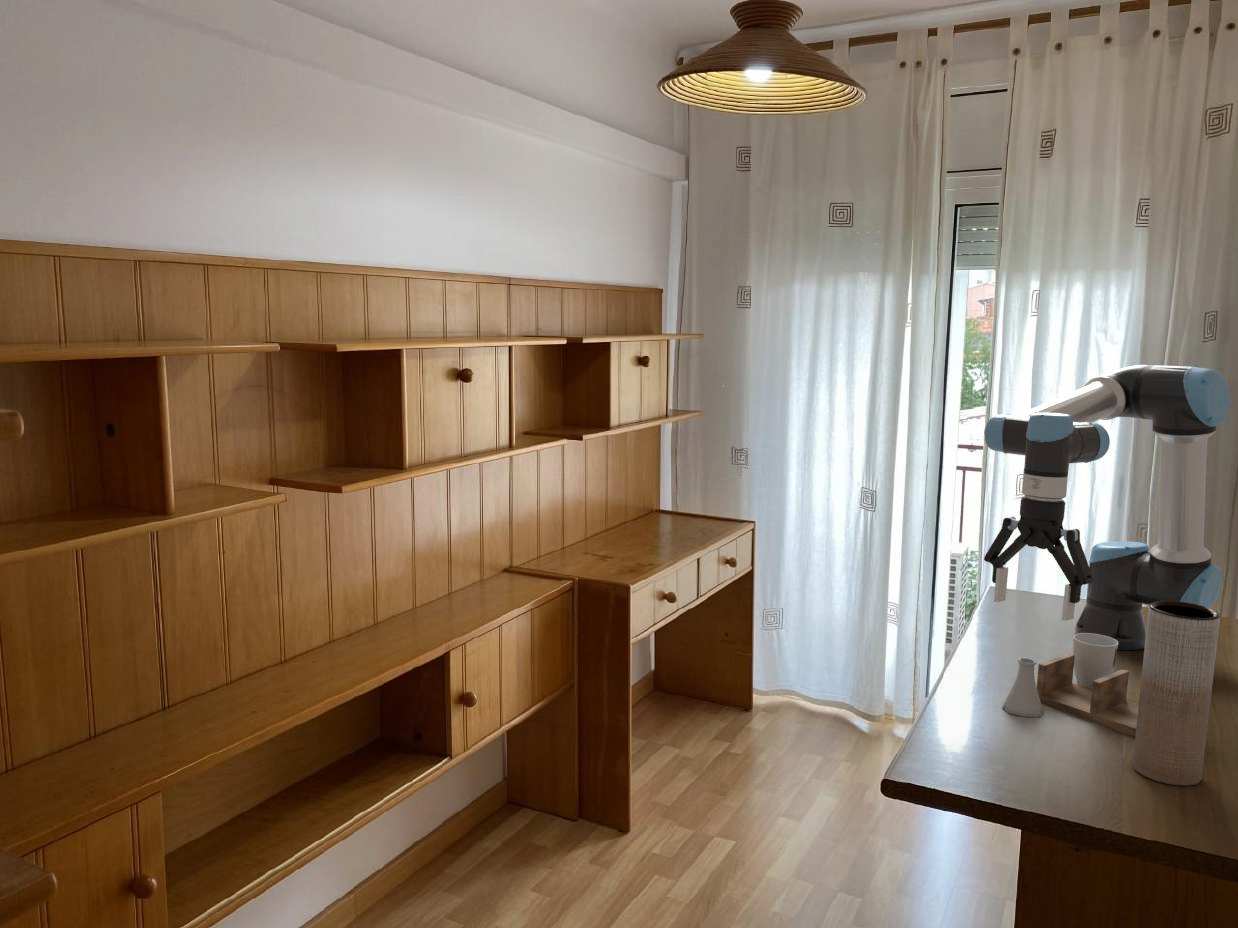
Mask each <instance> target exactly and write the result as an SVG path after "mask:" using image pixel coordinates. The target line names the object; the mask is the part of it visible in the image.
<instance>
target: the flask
mask: <svg viewBox="0 0 1238 928" xmlns="http://www.w3.org/2000/svg"><path fill="white" fill-rule="evenodd" d="M1017 662H1018V671H1017V675H1016V678H1015V680H1014V683H1013V684H1012V687H1011V689H1010V691H1009V693H1008V694H1007V697H1006V699H1005V700H1004V703H1003V705H1002V708H1003V709H1004V710H1005V712H1007V713H1008V714H1012V715H1016V716H1019V717H1024V718H1025V717H1026V718H1027V717H1028V718H1040V717H1041V716H1042V714H1044V709H1043V704H1041V702H1040V698H1039V695H1038V691H1037V683H1036V679H1035V666H1036V664H1037V661H1036V660H1035V659H1034V658H1030V657H1019V658H1018V659H1017Z"/></svg>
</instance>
